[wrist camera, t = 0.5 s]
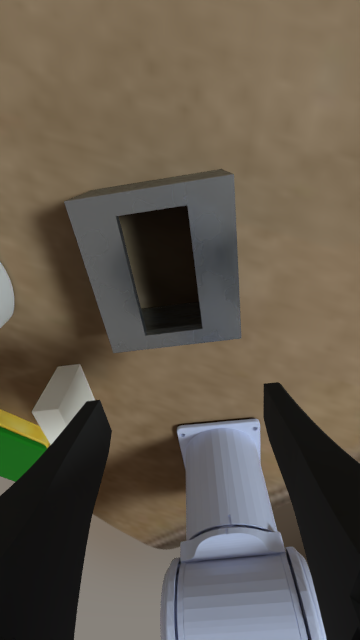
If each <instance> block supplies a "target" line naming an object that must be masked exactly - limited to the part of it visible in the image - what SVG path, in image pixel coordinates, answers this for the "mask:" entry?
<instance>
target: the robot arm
mask: <svg viewBox="0 0 360 640" xmlns="http://www.w3.org/2000/svg"><path fill="white" fill-rule="evenodd" d="M264 421H265V425H266V429H267V433H268V437H269V441H270V444H271V447H272V449H273V452H274V455H275V458H276V460H277V463H278V466H279V468H280V471H281V474H282V477H283V479H284V482H285V485H286V487H287V490H288V493H289V496H290V499H291V502H292V505H293V508H294V511H295V516H296V519H297V523H298V526H299V530H300V534H301V537H302V542H303V545H304V549H305V553H306V557H307V561H308V564H309V568H310V571H309V568H308V565H307V563H306V561H305V559H304V557H303V556H302V555H301V554H300V553H298V552H297V551H296V549H295V548H294V547H286V553H285V549H284V545H283V541H282V537H281V533H280V532H277V528H276V524H275V520H274V516H273V512H272V508H271V504H270V500H269V496H268V492H267V488H266V484H265V480H264V476H263V472H262V468H261V464H260V423H259V420H258V419H246V420H235V421H224V422H213V423H203V424H192V425H181V426H179V427H177V435H178V439H179V444H180V448H181V452H182V457H183V461H184V466H185V470H186V536H187V541H183V542H181V552H180V553H181V554H180V555H181V557H180V558H174V559H173V560H172V562H171V564H170V566H169V568H168V569H167V571H166V574H165V576H164V581H163V586H162V595H161V613H160V617H161V618H160V623H161V624H160V626H161V640H360V463H358V462H357V461H356V460H355V459H353V458H352V457H351V456H350V455H349V454H347V453H346V452H345V451H344V450H343V449H342V448H340V447H339V446H338V445H337V444H336V443H335V442H334V441H333V440H332V439H331V438H330V437H328V436H327V435H326V434H325V433H324V432H323V431H322V430H321V429H320V428H319V427H318V426H317V425H316V424H315V423H314V422H313V421H312V420H311V419H310V418H309V416H308V415H307V414H306V413H305V412H304V411H303V410H302V409H301V408H300V407H299V406H298V404H297V403H296V402H295V401H294V400H293V399H292V397H291V396H290V395H289V394H288V393H287V391H286V390H285V389H284V388H283V386H282V385H281V384H280V383H268V384H264ZM111 433H112V430H111V428H110V425H109V423H108V420H107V417H106V415H105V412H104V409H103V407H102V404H101V402H100V400H94V401H87V402H86V403H85V404H84V405H83V406H82V408H81V409H80V410H79V411H78V412H77V414H76V415H75V416H74V417H73V419H72V420H71V421H70V422H69V424H68V425H67V426H66V427H65V429H64V430H63V431H62V432H61V433H60V435H59V436H58V437H57V438H56V439H55V441H54V442H53V443H52V444H51V445H50V446H49V448H48V449H47V450H46V451H45V452H44V453H43V454H42V455H41V457H40V458H39V459H38V460H37V461H36V462H35V463H34V464H33V465H32V466H31V467H30V468H29V469H28V470H27V471H26V472H25V473H24V474H23V475H22V476H21V477H20V478H19V479H18V480H17V481H16V482H15V483H14V484H13V485H12V486H11V487H10V488H9V489H8V490H6V491H5V492H4V493H3V494H2V495H1V496H0V640H74V631H75V622H76V614H77V606H78V598H79V590H80V583H81V576H82V570H83V563H84V557H85V551H86V545H87V539H88V534H89V528H90V522H91V518H92V513H93V509H94V505H95V501H96V498H97V494H98V491H99V487H100V483H101V480H102V476H103V472H104V469H105V465H106V461H107V457H108V453H109V447H110V440H111ZM286 555H287V556H286ZM310 572H311V573H310Z"/></svg>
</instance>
